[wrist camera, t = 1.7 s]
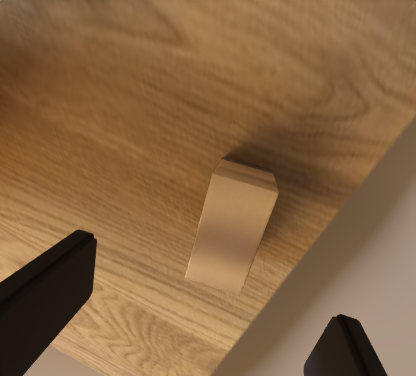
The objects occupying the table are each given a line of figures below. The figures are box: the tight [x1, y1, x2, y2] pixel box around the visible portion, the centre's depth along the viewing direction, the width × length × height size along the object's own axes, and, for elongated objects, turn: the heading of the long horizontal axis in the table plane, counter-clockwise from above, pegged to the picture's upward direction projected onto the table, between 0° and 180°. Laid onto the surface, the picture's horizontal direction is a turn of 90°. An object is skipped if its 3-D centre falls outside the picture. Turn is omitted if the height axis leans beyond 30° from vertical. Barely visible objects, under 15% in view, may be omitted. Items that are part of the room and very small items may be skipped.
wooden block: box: [185, 157, 279, 296], centre depth 15 cm, size 7×4×4 cm, turn 166°
